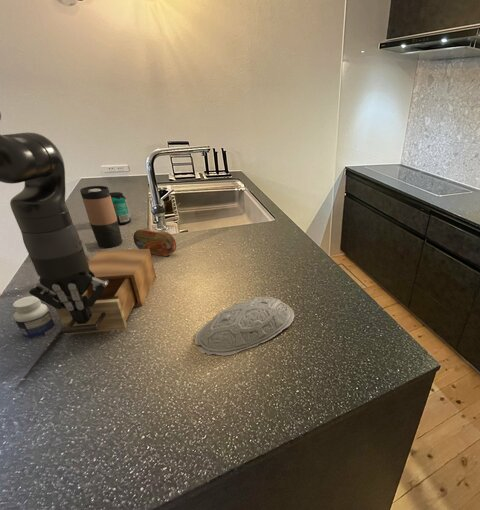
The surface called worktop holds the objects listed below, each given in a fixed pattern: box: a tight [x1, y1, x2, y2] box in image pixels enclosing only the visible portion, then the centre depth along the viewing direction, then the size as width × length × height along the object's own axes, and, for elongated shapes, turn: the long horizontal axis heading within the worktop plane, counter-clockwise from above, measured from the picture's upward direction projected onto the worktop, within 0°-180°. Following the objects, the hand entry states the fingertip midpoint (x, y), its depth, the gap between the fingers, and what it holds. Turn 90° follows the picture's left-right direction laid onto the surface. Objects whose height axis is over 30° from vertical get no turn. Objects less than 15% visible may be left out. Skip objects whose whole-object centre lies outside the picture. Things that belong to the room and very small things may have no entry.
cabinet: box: [88, 248, 157, 308], centre depth 82 cm, size 15×13×10 cm
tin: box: [132, 227, 177, 257], centre depth 104 cm, size 15×3×8 cm, turn 76°
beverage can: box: [110, 191, 132, 226], centre depth 123 cm, size 7×7×12 cm
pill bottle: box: [12, 295, 57, 340], centre depth 66 cm, size 5×5×10 cm
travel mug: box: [79, 185, 123, 249], centre depth 104 cm, size 8×8×20 cm
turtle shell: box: [194, 296, 295, 357], centre depth 75 cm, size 16×25×7 cm, turn 131°
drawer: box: [55, 277, 137, 336], centre depth 71 cm, size 19×11×8 cm, turn 15°
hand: (84, 321), depth 65 cm, fingers closed
